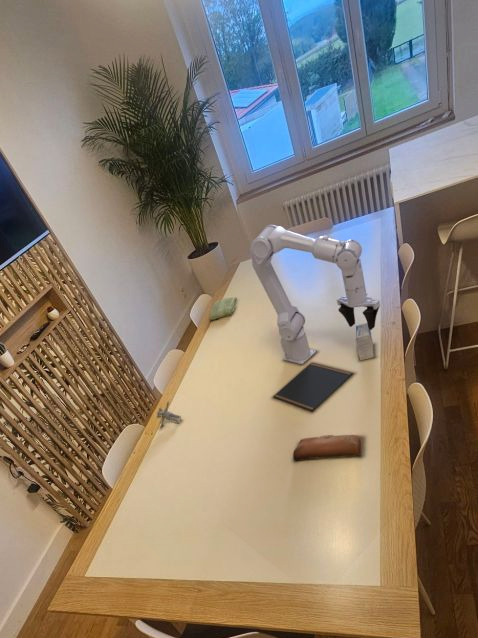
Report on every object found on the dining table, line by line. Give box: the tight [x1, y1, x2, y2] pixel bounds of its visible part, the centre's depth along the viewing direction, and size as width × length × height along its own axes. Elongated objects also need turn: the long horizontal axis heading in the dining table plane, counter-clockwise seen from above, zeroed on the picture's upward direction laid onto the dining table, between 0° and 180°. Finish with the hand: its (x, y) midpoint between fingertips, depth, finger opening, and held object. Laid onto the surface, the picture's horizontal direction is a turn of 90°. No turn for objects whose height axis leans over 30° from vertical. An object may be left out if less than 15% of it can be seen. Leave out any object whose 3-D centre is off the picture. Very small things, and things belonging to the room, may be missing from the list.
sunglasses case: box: [292, 434, 363, 461], centre depth 112 cm, size 18×7×7 cm
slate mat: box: [272, 362, 354, 413], centre depth 136 cm, size 18×20×1 cm
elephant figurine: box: [156, 401, 182, 429], centre depth 150 cm, size 10×6×9 cm
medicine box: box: [355, 322, 375, 361], centre depth 135 cm, size 8×4×9 cm, turn 168°
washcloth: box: [209, 296, 238, 321], centre depth 204 cm, size 13×18×3 cm
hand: (362, 326), depth 131 cm, fingers open, 7 cm apart
